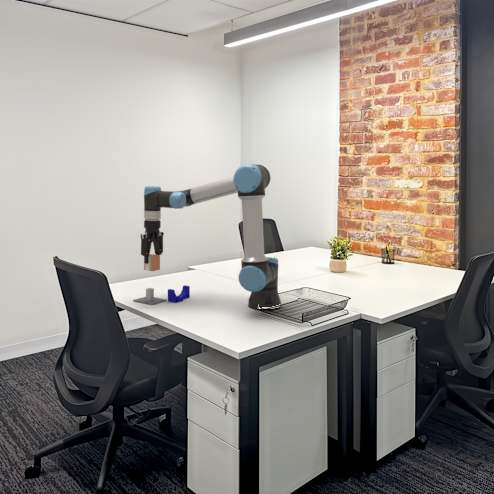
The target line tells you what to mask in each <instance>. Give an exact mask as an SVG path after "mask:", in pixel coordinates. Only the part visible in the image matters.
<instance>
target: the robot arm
mask: <svg viewBox="0 0 494 494" xmlns="http://www.w3.org/2000/svg"><path fill="white" fill-rule="evenodd" d="M270 182H271V174H270V171H269V169H268V168H267V167H266V166H264V165H263V164H262V165H261V164H256V163H247V164H243V165H240V166H239V167H238V168H237V169H236V170H235V172H234V174H233V176H231V177H230V176H229V177H228V178H225V179H220V180H217V181H214V182H210V183H206V184H201V185H198V186H195V187H192V188H189V189H184V190H175V191H174V190H172V191H169V190H167V191H166V190H165V191H164V190H162V188H161V186H159V185H158V186H157V185H156V186H155V185H147V186H144V191H143V200H144V202H143V204H144V205H143V206H144V208H143V219H145V220H143V228H144V229H145V231H144V233H143V234H142V233H140V256H143V263H144V262H145V270H144V271H148V272H152V271H151V257H150V256H149V255H150V253H151V249H152V245H153V251H154V255H160V256H162V254H163V253H164V232H163V231H160V228H161V217H162V213H161V212H162V211H161V210H162V209H161V208H166V209H174V210H177V209H184V208H185V207H187V208H188V207H190V206H194V205H196V204H200V203H203V202H207V201H211V200H216V199H220V198H223V197H227V196H230V195H234V194H237V198H239V199H240V200H241V201H240V202H241V209H242V210H241V213H242V214H241V216H242V231H243V232H242V234H243V250H244V251H243V253H244V256H243V257H242V259H241V261H240V262H241V265H240V266H241V269H240V271H239V273H238V282H239V284H240V286H241V287H242V288H243V289H244V290H245V291H248V292H250V295H249V297H248V301H247V303H248V304H247V306H248V307H249V308H250V309H253V310H257V307H258V304H259V307H260V308H262V307H272V306H276V305H279V304H281V305H282V301H281V298H280V294H279V290H278V285H279V267H280V266H279V260H278V258H277V257H271V256H270V257H268V256H266V255H265V240H264V222H263V221H264V220H263V218H264V217H263V199H264V198H265V197H266V188H268V186H269V185H270Z"/></svg>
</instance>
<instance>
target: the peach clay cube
mask: <svg viewBox="0 0 494 494" xmlns="http://www.w3.org/2000/svg"><path fill="white" fill-rule="evenodd" d="M154 254H155V253H154ZM154 254H153V253H151V254H150V255H149V256H150V257H151V271H150V272H156V271H160V270H161V255H154ZM143 270H144V271H146V270H145V262H144V261H143Z"/></svg>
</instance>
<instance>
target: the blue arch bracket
mask: <svg viewBox="0 0 494 494" xmlns="http://www.w3.org/2000/svg"><path fill="white" fill-rule="evenodd" d="M190 287H191V286H190V285H187V284H186V285H182V290H181V292H180V294H178V295H176V291H175V289H172V288H168V289H167V302H168V303H173V304H176V303H180V302H183V301H184V300H186V299H190V297H191V296H190Z"/></svg>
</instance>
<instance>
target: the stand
mask: <svg viewBox="0 0 494 494" xmlns="http://www.w3.org/2000/svg"><path fill="white" fill-rule="evenodd" d="M132 301H133V302H136V303H140V304H145V305H151V306H154V305H157V304H160V303H164V302H168V298H167V299H166V298H160V297H156V296H155V288H154V287H153V288H152V287H147V288H145V296H143V297H139V298H136V299H133V300H132Z"/></svg>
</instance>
